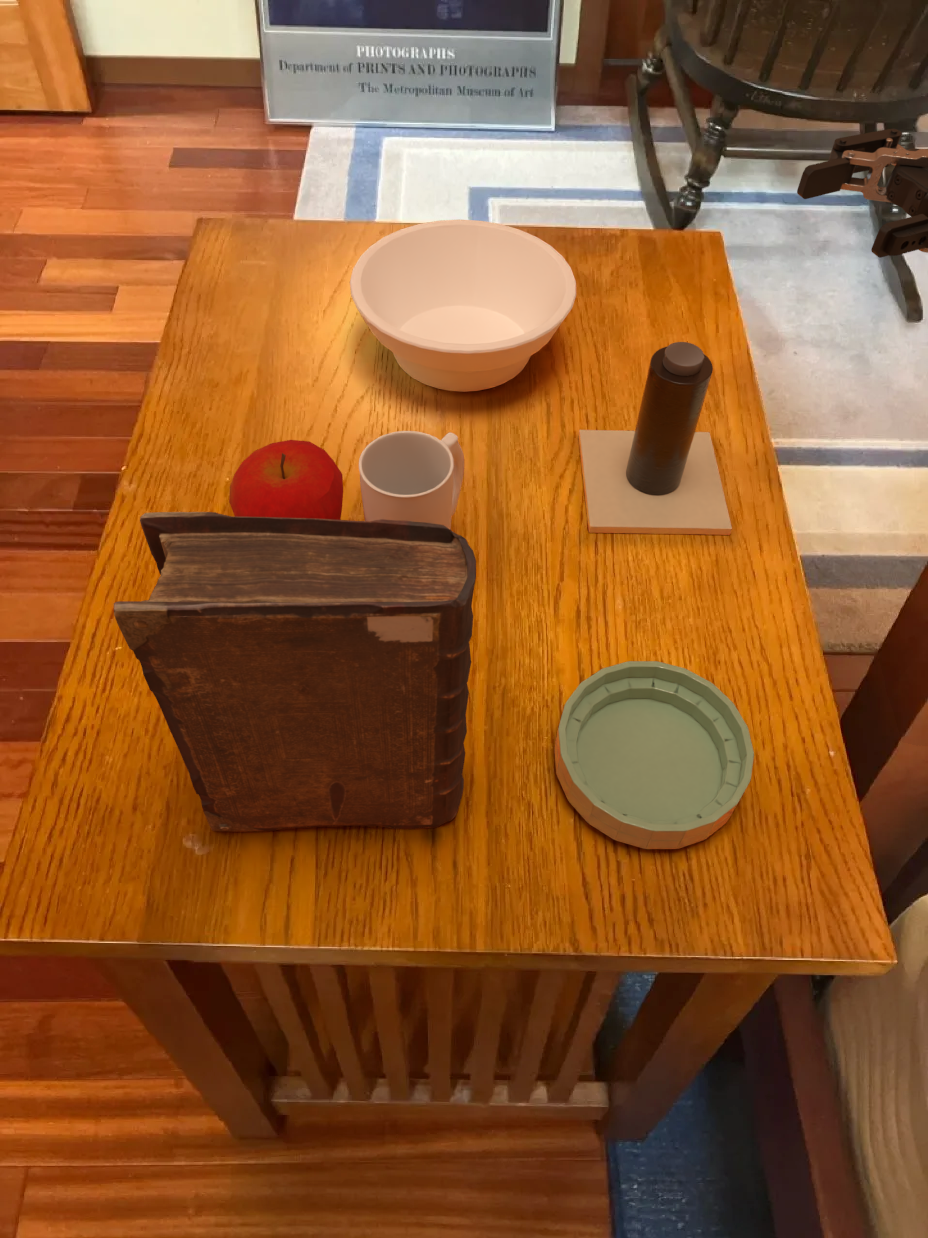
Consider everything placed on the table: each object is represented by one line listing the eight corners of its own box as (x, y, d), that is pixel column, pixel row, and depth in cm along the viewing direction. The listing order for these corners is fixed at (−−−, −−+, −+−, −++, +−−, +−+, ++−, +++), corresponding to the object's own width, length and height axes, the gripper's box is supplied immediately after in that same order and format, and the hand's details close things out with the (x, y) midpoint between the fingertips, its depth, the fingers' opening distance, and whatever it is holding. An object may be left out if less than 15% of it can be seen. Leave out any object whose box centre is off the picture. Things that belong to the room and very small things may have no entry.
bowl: (333, 408, 87) (324, 334, 81) (380, 280, 100) (376, 207, 93) (556, 436, 86) (566, 363, 79) (575, 303, 98) (585, 230, 92)
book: (467, 765, 65) (481, 521, 45) (458, 861, 61) (468, 639, 41) (232, 743, 66) (142, 492, 46) (206, 837, 61) (95, 606, 41)
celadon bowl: (769, 746, 66) (784, 721, 64) (687, 891, 60) (699, 870, 57) (611, 658, 71) (618, 631, 68) (518, 784, 64) (522, 760, 61)
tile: (707, 438, 86) (709, 431, 85) (730, 535, 79) (732, 528, 78) (578, 435, 86) (579, 429, 85) (588, 532, 78) (589, 526, 78)
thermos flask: (690, 472, 82) (726, 349, 72) (664, 503, 80) (698, 381, 69) (642, 449, 84) (671, 326, 73) (615, 480, 81) (642, 357, 71)
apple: (297, 507, 79) (277, 398, 70) (373, 552, 77) (364, 444, 67) (225, 569, 75) (195, 462, 66) (304, 618, 72) (283, 514, 63)
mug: (415, 618, 73) (411, 511, 63) (351, 576, 75) (338, 467, 65) (492, 543, 78) (500, 433, 68) (430, 506, 80) (429, 395, 70)
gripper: (962, 78, 72) (794, 115, 68) (1109, 163, 65) (930, 210, 60) (922, 174, 78) (765, 213, 74) (1052, 261, 71) (885, 311, 66)
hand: (839, 211), depth 67 cm, fingers open, 8 cm apart
